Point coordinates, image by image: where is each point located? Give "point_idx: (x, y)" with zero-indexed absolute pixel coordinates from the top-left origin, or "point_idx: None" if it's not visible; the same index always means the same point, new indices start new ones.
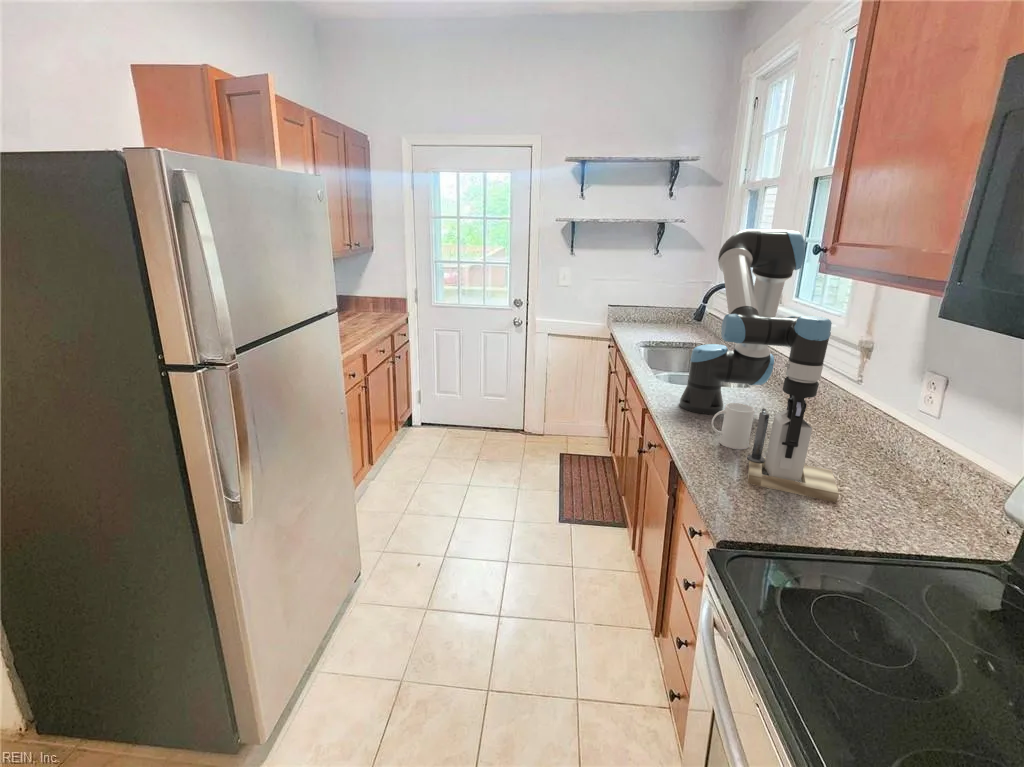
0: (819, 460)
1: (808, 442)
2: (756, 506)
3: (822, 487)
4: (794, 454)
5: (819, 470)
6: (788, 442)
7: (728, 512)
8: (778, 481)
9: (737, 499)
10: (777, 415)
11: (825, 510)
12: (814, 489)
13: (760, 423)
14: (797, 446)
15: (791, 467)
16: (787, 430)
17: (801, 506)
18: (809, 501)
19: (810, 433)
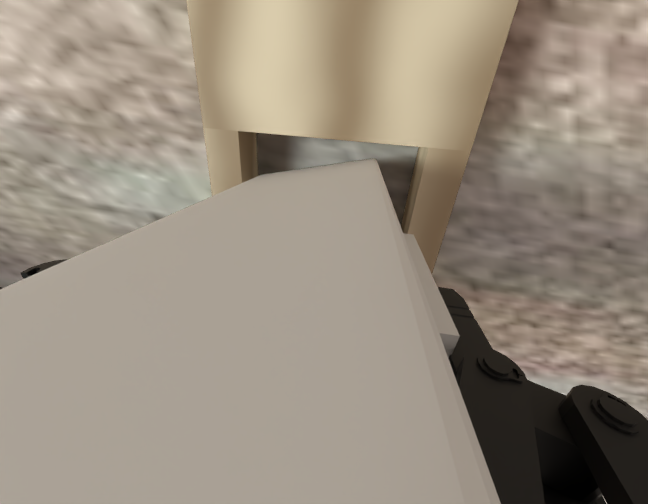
0: (22, 2)
1: (404, 239)
2: (572, 321)
3: (462, 56)
4: (434, 285)
5: (228, 36)
6: (601, 500)
7: (616, 389)
8: (435, 260)
9: (526, 358)
10: None
11: (600, 67)
12: (481, 108)
13: None
14: (626, 405)
15: (416, 242)
16: None
17: (562, 176)
18: (508, 133)
19: (443, 356)
